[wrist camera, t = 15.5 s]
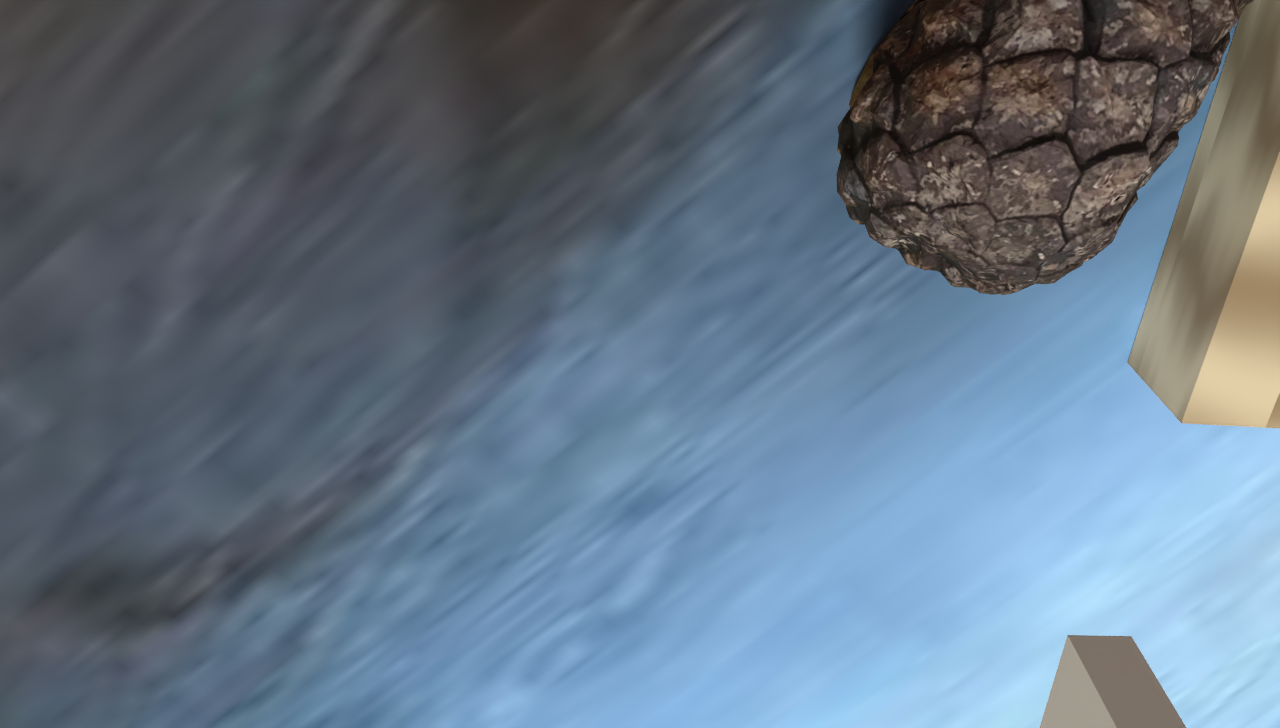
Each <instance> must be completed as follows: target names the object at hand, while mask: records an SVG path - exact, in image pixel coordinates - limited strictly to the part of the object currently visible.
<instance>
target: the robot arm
mask: <svg viewBox="0 0 1280 728" xmlns="http://www.w3.org/2000/svg"><path fill="white" fill-rule="evenodd" d="M1040 728H1186V727H1185V725H1184V723H1183V722H1182V720H1181V718H1180V717H1179V715H1178V713H1177V712H1176V710H1175V708H1174V707H1173V705H1172V703H1171V702H1170V700H1169V698H1168V697H1167V695H1166V693H1165V692H1164V690H1163V688H1162V687H1161V685H1160V683H1159V682H1158V680H1157V678H1156V677H1155V675H1154V673H1153V672H1152V670H1151V668H1150V667H1149V665H1148V663H1147V662H1146V660H1145V658H1144V657H1143V655H1142V653H1141V652H1140V650H1139V649H1138V647H1137V645H1136V644H1135V642H1134V640H1133V639H1132V637H1131V636H1079V635H1068V636H1067V639H1066V643H1065V646H1064V649H1063V653H1062V656H1061V659H1060V663H1059V666H1058V669H1057V672H1056V676H1055V679H1054V682H1053V686H1052V689H1051V692H1050V696H1049V699H1048V702H1047V705H1046V709H1045V712H1044V715H1043V719H1042V722H1041V725H1040Z"/></svg>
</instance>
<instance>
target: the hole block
mask: <svg viewBox="0 0 1280 728" xmlns="http://www.w3.org/2000/svg"><path fill="white" fill-rule="evenodd" d="M1128 364H1129V365H1130V366H1131V367H1132V368H1133V369H1134V370H1135V372H1136V373H1137V374H1138V375H1139V376H1140V377H1141V378H1142V379H1143V381H1144V382H1145V383H1146V384H1147V385H1148V386H1149V387H1150V388H1151V390H1152V391H1153V392H1154V393H1155V394H1156V395H1157V396H1158V397H1159V399H1160V400H1161V401H1162V402H1163V403H1164V404H1165V405H1166V406H1167V408H1168V409H1169V410H1170V411H1171V412H1172V413H1173V414H1174V415H1175V417H1176V418H1177V419H1178V420H1179V421H1180V422H1181V423H1189V424H1208V425H1227V426H1246V427H1265V428H1280V0H1254V1H1253V2H1251V3H1249V4H1248V5H1246V7H1245V9H1244V10H1243V12H1242V14H1241V15H1240V17H1239V21H1238V24H1237V27H1236V30H1235V33H1234V36H1233V39H1232V42H1231V45H1230V48H1229V51H1228V55H1227V58H1226V61H1225V64H1224V67H1223V70H1222V73H1221V76H1220V79H1219V82H1218V85H1217V88H1216V92H1215V95H1214V98H1213V101H1212V104H1211V107H1210V110H1209V113H1208V116H1207V119H1206V122H1205V125H1204V129H1203V132H1202V135H1201V138H1200V141H1199V144H1198V147H1197V150H1196V153H1195V156H1194V159H1193V163H1192V166H1191V169H1190V172H1189V175H1188V178H1187V181H1186V184H1185V187H1184V190H1183V193H1182V196H1181V200H1180V203H1179V206H1178V209H1177V212H1176V215H1175V218H1174V221H1173V224H1172V227H1171V230H1170V234H1169V237H1168V240H1167V243H1166V246H1165V249H1164V252H1163V255H1162V258H1161V261H1160V264H1159V267H1158V271H1157V274H1156V277H1155V280H1154V283H1153V286H1152V289H1151V292H1150V295H1149V298H1148V301H1147V304H1146V308H1145V311H1144V314H1143V317H1142V320H1141V323H1140V326H1139V329H1138V332H1137V335H1136V338H1135V342H1134V345H1133V348H1132V351H1131V354H1130V357H1129V360H1128Z"/></svg>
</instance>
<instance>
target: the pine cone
mask: <svg viewBox="0 0 1280 728" xmlns="http://www.w3.org/2000/svg"><path fill="white" fill-rule="evenodd" d="M1253 1H1254V0H915V2H914V3H913V4H912V6H911V7H910V8H909V9H908V10H907V11H906V13H905V14H904V15H903V16H902V17H901V18H900V19H899V21H898V22H897V23H896V24H895V25H894V26H893V28H892V29H891V30H890V32H889V33H888V34H887V36H886V37H885V38H884V39H883V41H882V42H881V43H880V45H879V46H878V47H877V49H876V50H875V51H874V52H873V54H872V55H871V56H870V58H869V60H868V62H867V64H866V66H865V68H864V70H863V72H862V74H861V76H860V78H859V80H858V82H857V84H856V86H855V88H854V90H853V93H852V96H851V100H850V103H849V105H850V110H849V111H848V112H847V114H846V115H845V117H844V118H843V120H842V121H841V123H840V124H839V126H838V132H839V140H838V149H837V150H838V152H839V153H840V154H841V160H840V164H839V168H838V172H837V192H838V193H839V195H840V196H841V198H842V199H843V201H844V202H845V204H846V209H847V211H848V214H849V217H850V218H851V219H852V220H854V221H855V222H857V223H858V224H865V226H866V229H867V231H868V234H869V236H870V237H871V238H872V239H874V240H875V241H877V242H878V243H880V244H881V245H883V246H885V247H891V248H895V249H897V250H899V252H900V253H901V255H902V257H903V258H904V260H905V262H906V264H908V265H911V266H914V267H917V268H921V269H924V270H934V271H939V272H941V274H942V275H943V276H944V277H945V278H946V279H947V280H948V282H949V283H950V284H951V285H952V286H954V287H969V288H972V289H974V290H976V291H978V292H979V293H985V294H1002V295H1006V294H1012V293H1014V292H1018V291H1020V290H1022V289H1024V288H1027V287H1029V286H1031V285H1033V284H1050V283H1055V282H1056V281H1058V280H1059V279H1060V278H1062V277H1063V276H1065V275H1066V274H1068V273H1069V272H1071V271H1073V270H1075V269H1076V268H1078V267H1080V266H1082V264H1083V262H1085V261H1087V260H1089V259H1091V258H1093V257H1094V256H1096V255H1097V254H1098V253H1099V252H1101V251H1102V250H1103V249H1104V248H1106V247H1107V246H1108V245H1109V244H1111V243H1112V241H1113V239H1114V238H1115V236H1116V233H1117V231H1118V229H1119V227H1120V225H1121V223H1122V221H1123V219H1124V217H1125V216H1126V214H1127V212H1128V211H1129V209H1130V208H1131V207H1132V206H1133V205H1134V203H1135V202H1136V201H1137V199H1138V197H1137V190H1139V189H1140V188H1141V187H1142V186H1144V185H1145V183H1146V182H1147V181H1148V180H1149V179H1150V178H1151V176H1152V175H1153V173H1154V172H1155V171H1156V170H1157V169H1158V168H1159V167H1160V166H1161V164H1162V163H1163V162H1164V161H1165V160H1166V159H1167V158H1168V157H1169V155H1170V154H1171V153H1172V152H1173V151H1174V149H1175V148H1176V147H1177V145H1178V140H1179V136H1178V132H1179V130H1180V129H1181V128H1182V127H1183V126H1184V125H1185V124H1186V123H1188V122H1189V121H1190V120H1192V119H1193V117H1194V116H1195V115H1196V113H1197V111H1198V109H1199V107H1200V105H1201V103H1202V101H1203V99H1204V97H1205V95H1206V93H1207V91H1208V88H1209V85H1210V83H1211V82H1212V81H1213V80H1214V79H1215V77H1216V75H1217V73H1218V71H1219V69H1218V67H1220V64H1221V60H1222V56H1223V54H1224V52H1225V50H1226V48H1227V46H1228V44H1229V42H1230V33H1229V31H1230V30H1231V29H1232V28H1233V27H1234V25H1235V23H1236V22H1237V20H1238V19H1239V17H1240V15H1241V14H1242V12H1243V10H1244V9H1245V7H1246V5H1248V4H1249V3H1251V2H1253Z"/></svg>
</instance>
